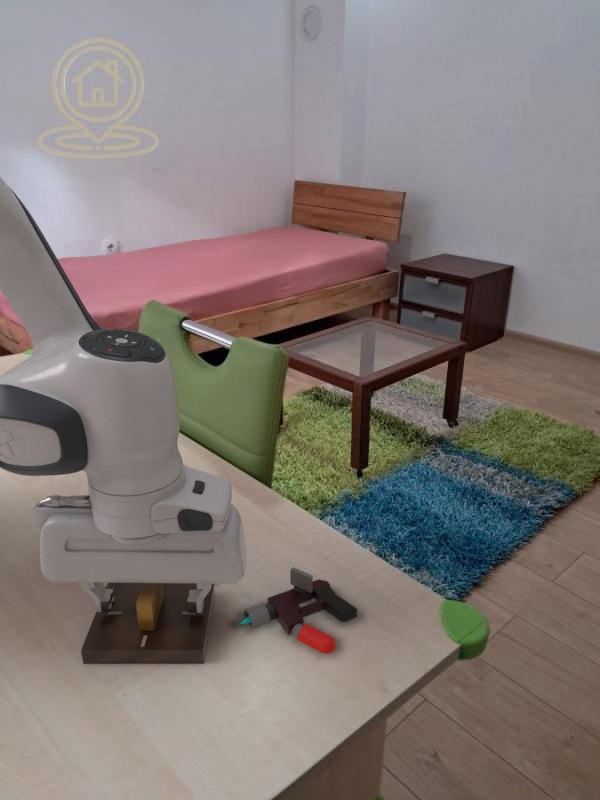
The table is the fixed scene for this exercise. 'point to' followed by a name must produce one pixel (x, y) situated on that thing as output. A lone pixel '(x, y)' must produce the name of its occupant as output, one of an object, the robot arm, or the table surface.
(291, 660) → the table surface
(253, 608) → the toy gun
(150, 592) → the lock turn
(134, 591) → the plate
